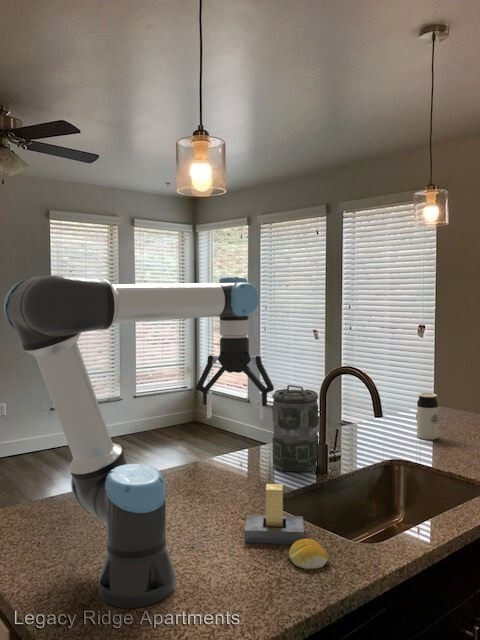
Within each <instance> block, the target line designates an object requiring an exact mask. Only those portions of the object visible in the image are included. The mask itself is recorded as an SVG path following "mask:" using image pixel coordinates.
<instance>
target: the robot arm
mask: <svg viewBox="0 0 480 640" xmlns="http://www.w3.org/2000/svg"><path fill="white" fill-rule="evenodd" d="M248 281H249V280H248V278H246V277H243V276H223V277H220V278H219V282H217V283H216V282H202V283H201V282H197V283H196V282H195V283H194V282H193V283H131V284H130V283H129V284H128V283H125V284H118V283H117V284H112V283H111V282H110V281H108V279H103V278H102V279H94V278H92V279H91V278H83V277H82V278H80V277H72V276H66V275H59V274H57V275H55V274H54V275H52V274H51V275H46V276H45V275H44V276H43V275H42V276H33V277H27V278H25V279H22V280H21V281H19V282H17V283H16V284H14V285H13V286H12V287H11V288H10V289H9V290H8V292H7V294H6V296H5V298H4V301H3V314H4V316H5V319H6V321H7V322H8V324H9V325H10V327H11V328H12V329H13V330H15V331H16V332H17V333H16V334H18V338H19V340H20V343H21V345H22V348H23V350H24V352H25V353H27V354H30V355H32V356H34V357H35V360H36V363H37V365H38V368H39V370H40V373H41V376H42V379H43V381H44V384H45V386H46V389H47V391H48V394H49V397H50V400H51V402H52V405H53V407H54V410H55V413H56V414H57V415H56V416H57V418H58V422H59V424H60V426H61V429H62V431H63V434H64V437H65V440H66V442H67V444H68V447H69V450H70V453H71V455H72V458H73V459H72V461H71V462H70V464H69V472H70V474H71V480H70V482H71V483H70V486H71V492H72V495H73V497H74V498H75V500H76V502H77V503H78V504H79V505H80V507H82V508H83V509H84V510H85V511H88V512H89V513H91V514H92V515H93V516H95V517H96V518H98V519H99V520H100V521H101V522H103V523H105V525H106V555H105V558H104V562H103V565H102V568H101V571H100V575H99V577H98V595H99V597H100V599H101V600H102V601H103V602H104V603H106V604H108V605H110V606H113V607H117V608H121V609H122V608H123V609H136V608H143V607H149V606H150V605H154V604H156V603H159V602H161V601H162V600H165V599H166V598H167V597H169V596H170V595H171V593H173V591H174V590H175V587H176V572H175V568H174V565H173V563H172V562H173V561H172V560H171V557H170V554H169V550H168V547H167V523H166V522H167V519H166V518H167V514H166V513H167V512H166V511H167V510H166V503H167V501H166V498H167V489H166V488H167V487H166V483H165V481H166V480H165V477H164V475H163V474H162V472H161V471H160V470H159V469H158V468H156V467H153V466H151V465H147V464H144V465H142V463H128V462H127V459H126V457H125V453H124V451H123V450H124V449H123V447H122V445H120V444H118V443H115V442H113V441H112V439H111V435H110V432H109V429H108V426H107V424H106V421H105V418H104V415H103V413H102V410H101V407H100V404H99V401H98V399H97V395H96V392H95V390H94V387H93V384H92V381H91V379H90V376H89V373H88V370H87V367H86V364H85V362H84V359H83V356H82V353H81V350H80V347H79V345H78V340H79V338H80V336H81V334H82V333H87V332H92V331H103V330H109V329H110V328H112V327H113V325H114V324H125V323H126V324H127V323H128V324H129V323H140V322H156V321H158V322H159V321H169V320H184V319H185V320H186V319H199V318H200V319H201V318H202V319H203V318H213V317H214V318H215V317H218V318H219V336H221V337H220V338H219V355H214V354H209V355H208V356H207V362H206V363H207V364H206V365H205V368H204V370H203V372H202V374H201V376H200V378H199V380H198V382H197V385H196V386H195V390H196V391H199V392H201V393H202V404H203V406H206V419H211V418H212V416H213V413H212V412H213V411H212V410H213V407H212V405H213V403H212V401H213V400H212V397H213V396H212V395H213V394H212V391H210V390H211V388H212V387H213V386H214V385H215V384H216V382H218V380H219V379H220V377H221V376H222V375H223V374H224V373H225V372H227V373H230V374H232V373H236V374H240V373H242V372H243V373H244V374H245V375H246V376H247V377H248V378H249V379H250V380H251V382H252V383H253V384H254V386H255V387H256V388H257V389H258V390H259V393H258V420H263V419H264V418H263V417H264V407H267V404H268V393H271V392H273V391H274V390H275V386H274V384H273V383H272V380H271V378H270V377H269V374H268V372H267V371H266V369H265V367H264V365H263V362H262V355H260V354H257V355H252V356H251V354H250V350H249V349H250V338H249V337H248V336H249V334H250V332H249V331H250V326H249V324H250V323H249V322H250V321H249V316H251V315H252V314H254V313H255V311H257V309H258V307H259V303H260V295H259V292H258V290H257V288H256V287H255V286H254V284H252V283H250V282H248ZM251 361H252V363H253V364H254V365H256V367H257V369H258V371H259V374H260V376H261V377H262V379H263V382H264V383H265V385H266V386H265V385H264V384H263V382H261V381H260V379H259V378H258V377H257V376H256V374H255V373H254V372H253V370H252V369H251V368H250V367H249V363H251ZM217 362H219V364H220V365H221V367H220V368H219V369H218V371H217V372H216V373H215V375H213V377H212V378H211V379H210V380H209V381H208V383H207V384H206V385H205V386H204V384H205V382H206V381H207V378H208V376H209V374H210V372H211V371H212V368H213V365H215V364H216V363H217Z"/></svg>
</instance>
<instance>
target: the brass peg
mask: <svg viewBox="0 0 480 640" xmlns="http://www.w3.org/2000/svg"><path fill="white" fill-rule="evenodd" d="M283 485H284V484H280V483H266V486H265V515H266V528H283V516H284V504H283V503H284V502H283V501H284V500H283V499H284V498H283V497H284V495H283V494H284V493H283V492H284V491H283V490H284V489H283V488H284V486H283Z"/></svg>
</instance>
